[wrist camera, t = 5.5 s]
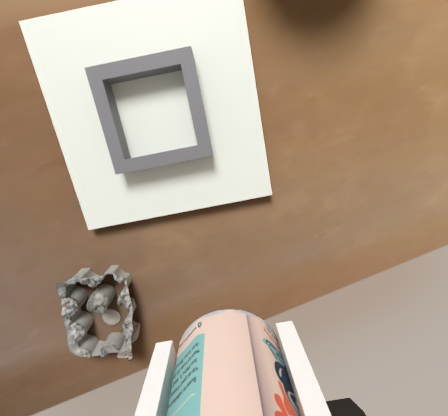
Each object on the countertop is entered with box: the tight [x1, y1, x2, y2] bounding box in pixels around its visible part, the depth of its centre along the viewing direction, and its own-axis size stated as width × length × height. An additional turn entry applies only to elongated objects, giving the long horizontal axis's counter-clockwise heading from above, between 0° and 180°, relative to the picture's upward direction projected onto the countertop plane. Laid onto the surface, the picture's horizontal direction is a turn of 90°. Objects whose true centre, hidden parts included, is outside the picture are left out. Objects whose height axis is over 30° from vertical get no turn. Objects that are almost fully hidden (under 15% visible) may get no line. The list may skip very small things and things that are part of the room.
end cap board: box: [19, 0, 272, 230], centre depth 26 cm, size 20×20×3 cm
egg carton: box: [56, 265, 140, 361], centre depth 31 cm, size 11×8×4 cm
